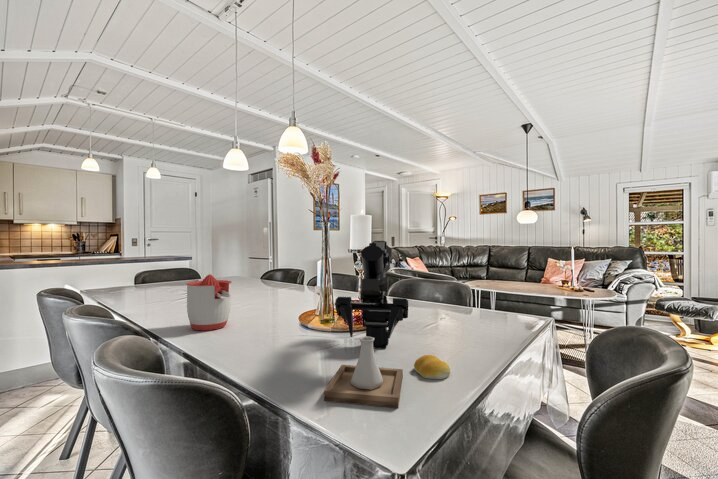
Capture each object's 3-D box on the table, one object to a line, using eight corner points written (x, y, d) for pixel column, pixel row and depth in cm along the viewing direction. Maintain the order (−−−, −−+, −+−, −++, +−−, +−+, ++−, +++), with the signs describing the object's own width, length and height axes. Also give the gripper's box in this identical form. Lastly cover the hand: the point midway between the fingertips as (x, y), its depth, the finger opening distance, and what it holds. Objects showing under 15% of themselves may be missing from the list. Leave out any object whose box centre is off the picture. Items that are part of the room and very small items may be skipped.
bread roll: (428, 383, 78) (428, 365, 78) (409, 369, 86) (409, 353, 86) (458, 378, 80) (458, 361, 80) (437, 365, 89) (437, 350, 89)
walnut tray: (324, 400, 68) (324, 390, 68) (341, 372, 83) (341, 364, 83) (398, 408, 65) (398, 397, 65) (402, 377, 80) (402, 369, 80)
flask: (373, 393, 69) (373, 345, 69) (344, 385, 73) (344, 339, 73) (388, 381, 75) (389, 336, 75) (361, 374, 79) (361, 332, 79)
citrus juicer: (206, 336, 114) (207, 277, 115) (176, 329, 123) (177, 274, 124) (243, 326, 128) (243, 273, 128) (214, 320, 137) (214, 271, 137)
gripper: (336, 265, 88) (327, 317, 77) (408, 266, 86) (409, 320, 75) (341, 291, 96) (333, 341, 85) (407, 292, 93) (408, 344, 83)
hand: (369, 336), depth 81 cm, fingers open, 9 cm apart
